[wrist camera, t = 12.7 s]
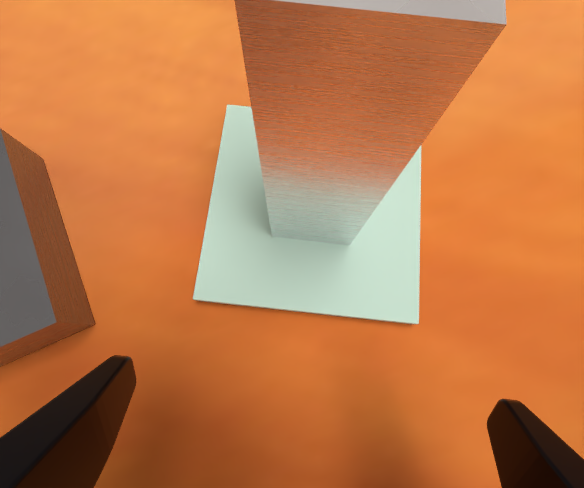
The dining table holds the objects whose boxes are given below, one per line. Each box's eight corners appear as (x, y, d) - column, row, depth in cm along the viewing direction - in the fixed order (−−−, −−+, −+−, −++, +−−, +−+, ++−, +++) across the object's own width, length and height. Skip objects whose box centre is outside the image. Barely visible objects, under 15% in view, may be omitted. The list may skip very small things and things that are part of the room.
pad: (412, 324, 17) (418, 324, 17) (196, 300, 18) (192, 299, 17) (416, 132, 20) (421, 124, 19) (229, 113, 20) (227, 104, 20)
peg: (349, 245, 18) (506, 24, 5) (272, 236, 18) (233, -4, 5) (355, 173, 19) (496, -160, 6) (281, 165, 19) (269, -182, 6)
